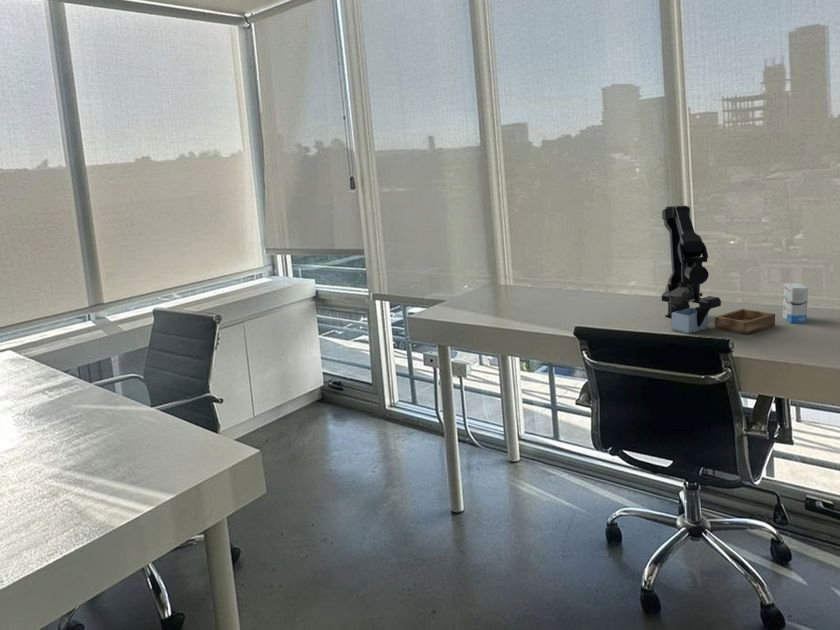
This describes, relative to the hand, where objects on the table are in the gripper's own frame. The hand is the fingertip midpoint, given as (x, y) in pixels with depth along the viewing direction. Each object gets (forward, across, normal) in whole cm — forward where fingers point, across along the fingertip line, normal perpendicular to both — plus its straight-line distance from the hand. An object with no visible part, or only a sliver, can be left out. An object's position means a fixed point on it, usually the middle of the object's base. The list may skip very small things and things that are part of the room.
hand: (689, 324), depth 222 cm
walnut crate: (+2, +11, +13) cm, 17 cm away
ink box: (+2, +17, +31) cm, 35 cm away
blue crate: (+2, 0, 0) cm, 2 cm away
